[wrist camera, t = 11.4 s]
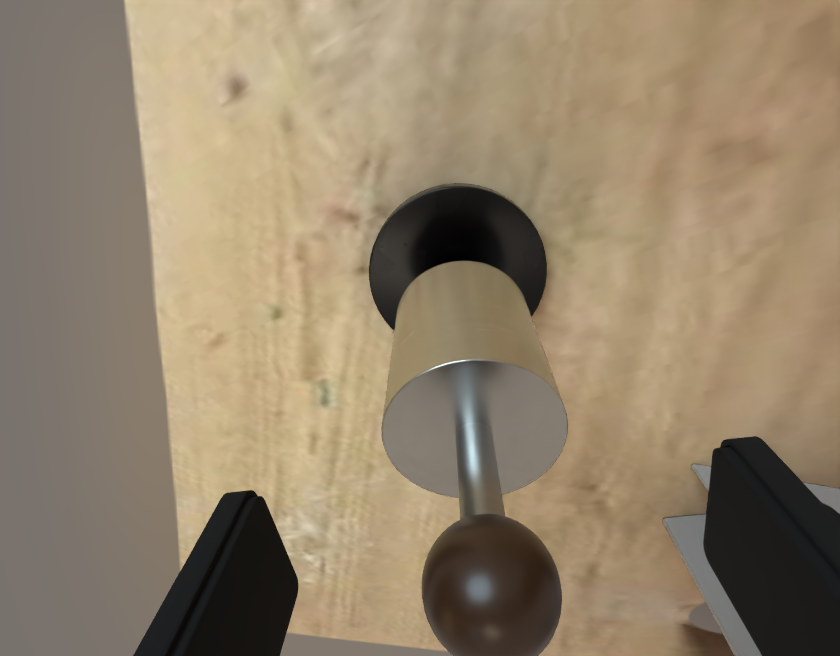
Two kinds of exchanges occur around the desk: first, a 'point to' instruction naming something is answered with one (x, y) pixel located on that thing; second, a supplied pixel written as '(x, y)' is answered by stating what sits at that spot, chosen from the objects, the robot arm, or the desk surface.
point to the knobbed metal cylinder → (477, 453)
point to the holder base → (455, 242)
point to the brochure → (690, 546)
